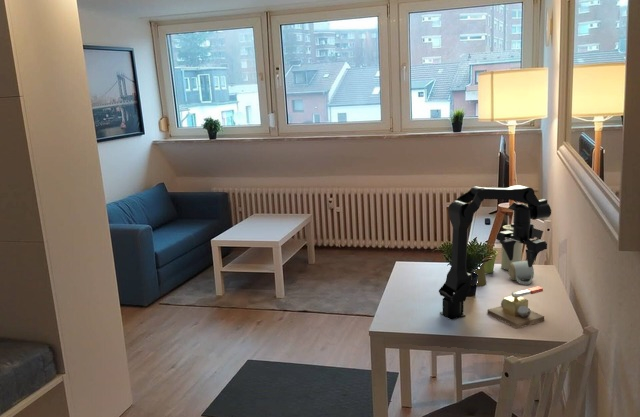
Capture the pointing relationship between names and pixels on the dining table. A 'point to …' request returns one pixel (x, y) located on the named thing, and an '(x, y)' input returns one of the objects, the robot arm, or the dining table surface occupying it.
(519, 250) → the travel mug
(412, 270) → the dining table surface
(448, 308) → the robot arm
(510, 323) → the valve board
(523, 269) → the ceramic mug
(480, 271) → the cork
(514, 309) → the ball valve
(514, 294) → the valve lever
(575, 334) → the dining table surface
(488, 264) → the plant pot
